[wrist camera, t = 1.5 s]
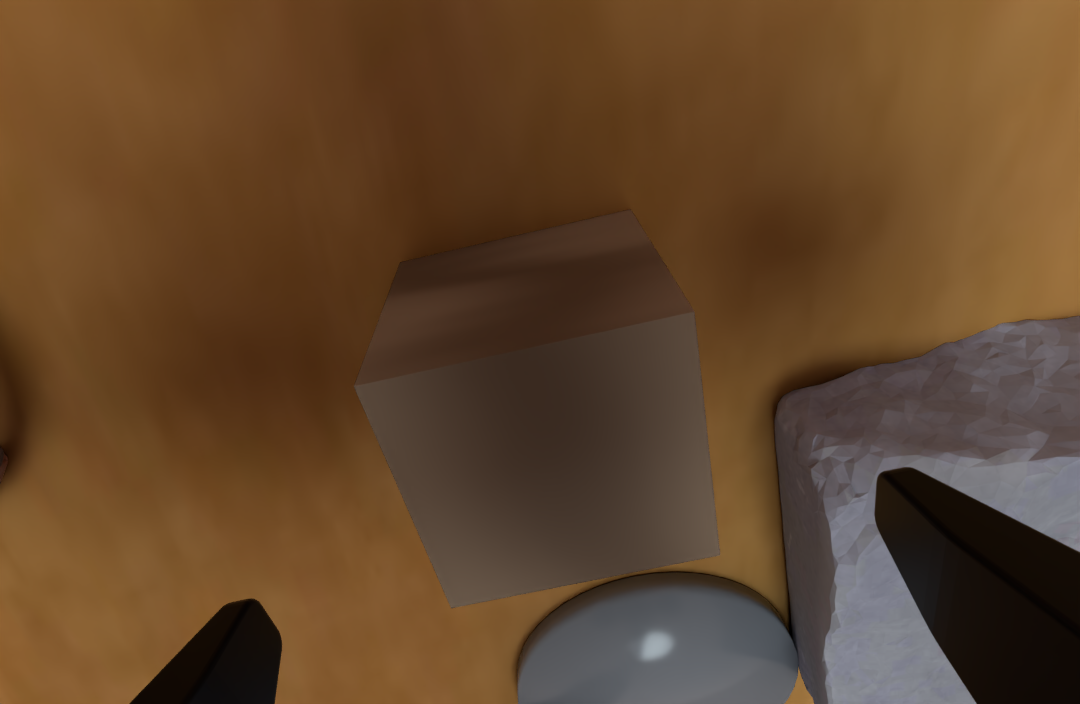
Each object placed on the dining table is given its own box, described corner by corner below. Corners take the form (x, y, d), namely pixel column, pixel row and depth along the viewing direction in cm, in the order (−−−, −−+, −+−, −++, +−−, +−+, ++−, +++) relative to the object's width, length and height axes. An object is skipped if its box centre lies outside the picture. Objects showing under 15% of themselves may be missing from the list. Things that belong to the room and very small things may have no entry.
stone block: (1077, 253, 16) (732, 391, 15) (1319, 332, 12) (869, 526, 11) (1015, 548, 23) (766, 659, 22) (1162, 667, 18) (863, 810, 18)
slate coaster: (548, 761, 23) (550, 785, 23) (486, 605, 19) (486, 629, 18) (790, 718, 23) (799, 740, 22) (785, 546, 18) (796, 568, 18)
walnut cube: (463, 441, 16) (451, 608, 12) (400, 261, 13) (353, 385, 9) (658, 400, 16) (720, 555, 11) (629, 208, 13) (694, 311, 9)
